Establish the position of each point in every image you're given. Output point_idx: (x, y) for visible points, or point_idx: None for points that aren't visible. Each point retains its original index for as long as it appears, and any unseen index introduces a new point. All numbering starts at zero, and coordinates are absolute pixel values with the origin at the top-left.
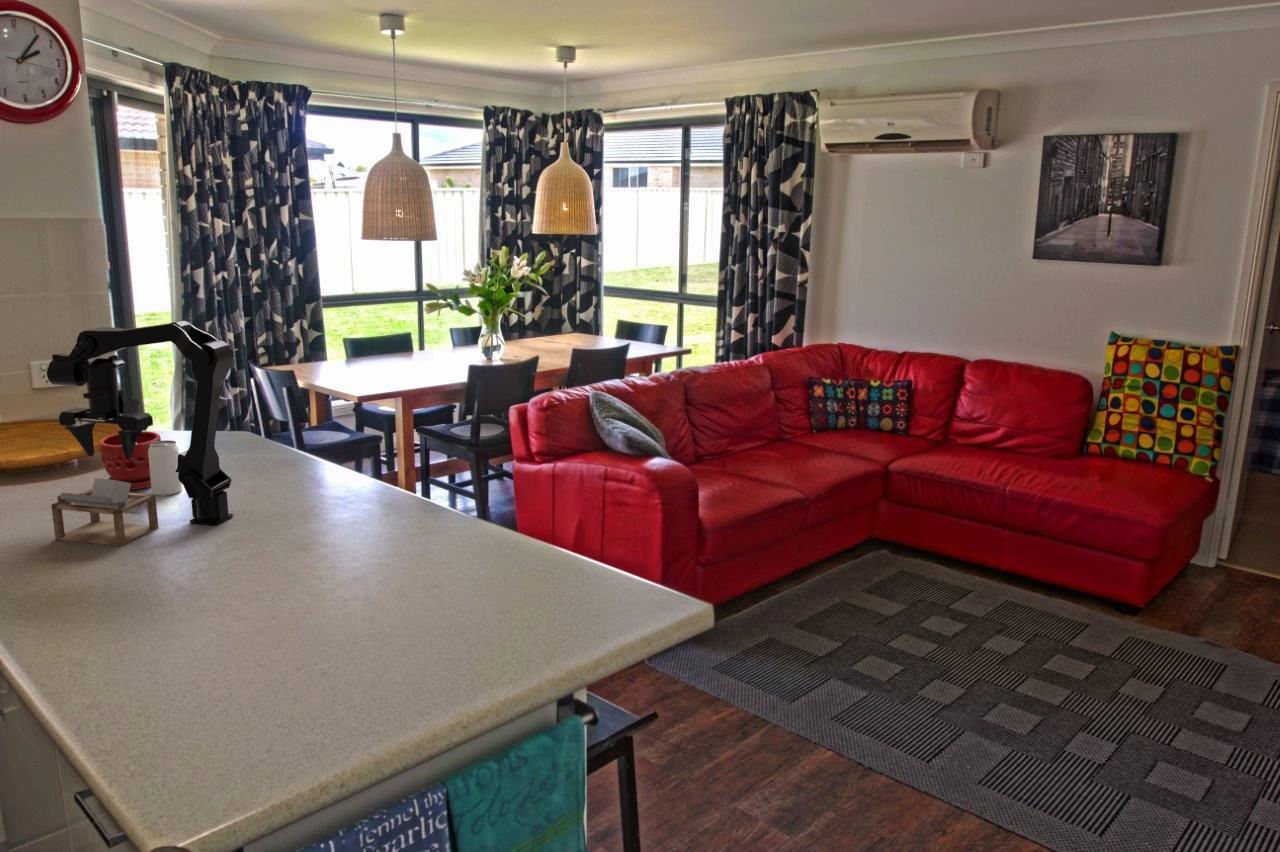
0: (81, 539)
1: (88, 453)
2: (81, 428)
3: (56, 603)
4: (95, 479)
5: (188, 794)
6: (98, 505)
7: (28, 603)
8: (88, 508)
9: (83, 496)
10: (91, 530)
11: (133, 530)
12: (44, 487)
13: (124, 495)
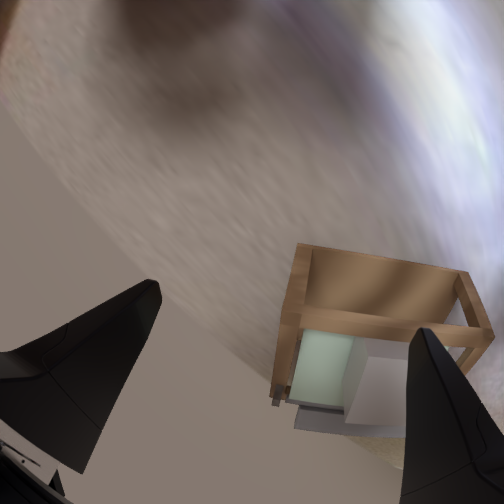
0: None
1: (152, 320)
2: (66, 450)
3: (396, 441)
4: (347, 420)
5: None
6: None
7: (371, 442)
8: None
9: (353, 433)
10: (332, 306)
11: (424, 300)
12: (21, 59)
13: None
